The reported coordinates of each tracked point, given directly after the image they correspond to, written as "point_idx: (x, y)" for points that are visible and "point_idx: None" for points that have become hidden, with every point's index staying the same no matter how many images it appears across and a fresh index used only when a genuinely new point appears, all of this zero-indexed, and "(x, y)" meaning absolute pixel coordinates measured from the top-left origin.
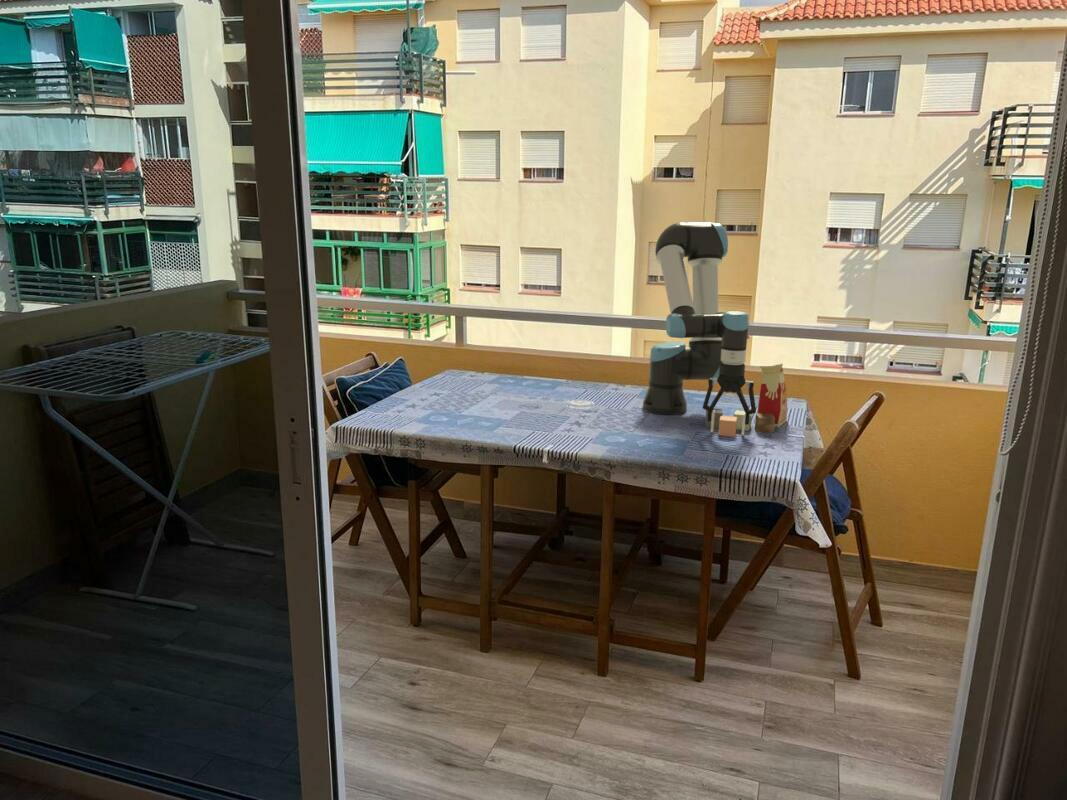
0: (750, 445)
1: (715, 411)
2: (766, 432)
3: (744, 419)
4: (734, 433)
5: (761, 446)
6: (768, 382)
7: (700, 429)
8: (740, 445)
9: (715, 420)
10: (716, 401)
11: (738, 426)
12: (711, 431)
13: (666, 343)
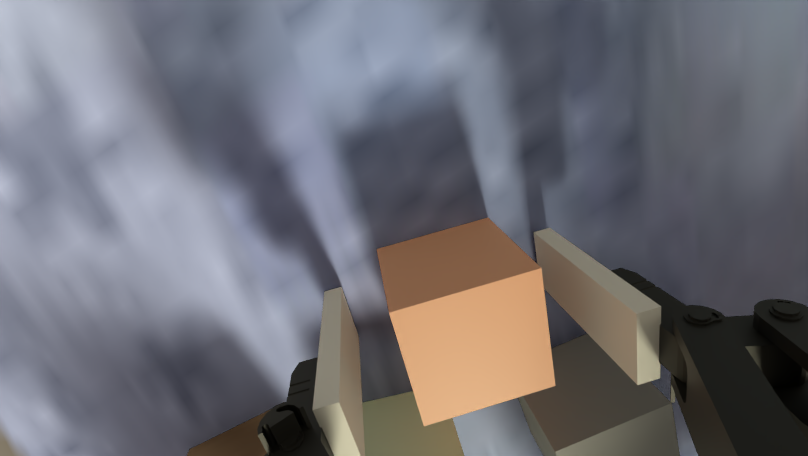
0: (179, 95)
1: (611, 452)
2: (229, 431)
3: (322, 372)
4: (383, 258)
5: (89, 120)
6: None
7: (619, 262)
8: (249, 45)
9: (568, 383)
10: (743, 426)
11: (411, 407)
12: (546, 231)
13: None
